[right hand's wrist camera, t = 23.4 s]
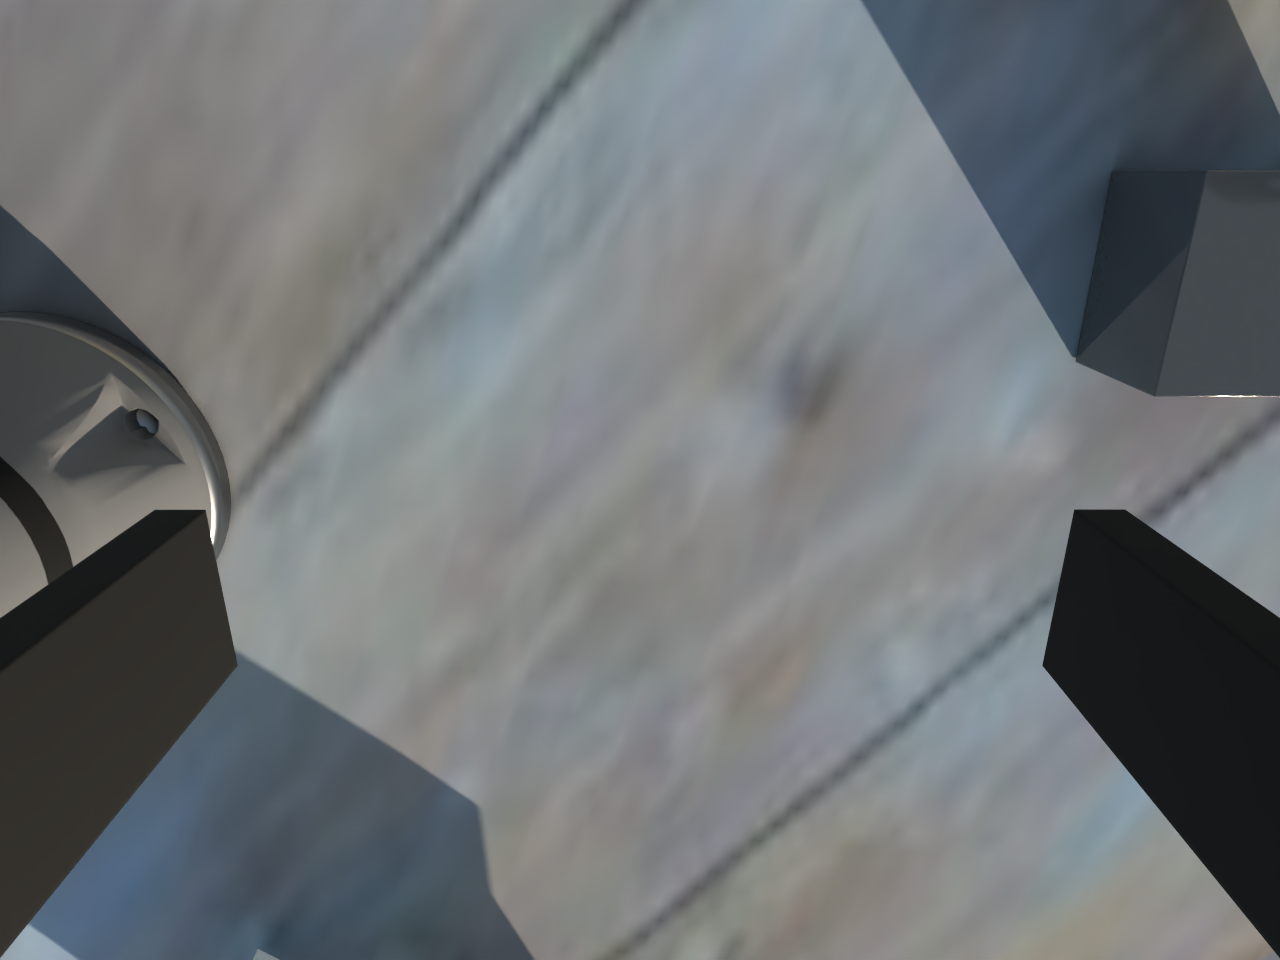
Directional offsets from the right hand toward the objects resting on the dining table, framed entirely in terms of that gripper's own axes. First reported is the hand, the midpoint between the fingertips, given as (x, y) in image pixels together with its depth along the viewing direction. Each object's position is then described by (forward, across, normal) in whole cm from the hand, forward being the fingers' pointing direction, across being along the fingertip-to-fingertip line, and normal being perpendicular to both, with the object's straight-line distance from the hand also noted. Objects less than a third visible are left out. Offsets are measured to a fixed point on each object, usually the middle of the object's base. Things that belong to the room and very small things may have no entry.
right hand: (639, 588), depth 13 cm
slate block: (+25, +23, +2) cm, 34 cm away
